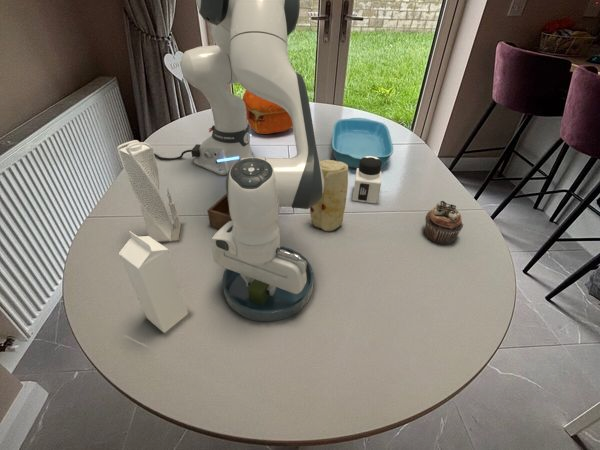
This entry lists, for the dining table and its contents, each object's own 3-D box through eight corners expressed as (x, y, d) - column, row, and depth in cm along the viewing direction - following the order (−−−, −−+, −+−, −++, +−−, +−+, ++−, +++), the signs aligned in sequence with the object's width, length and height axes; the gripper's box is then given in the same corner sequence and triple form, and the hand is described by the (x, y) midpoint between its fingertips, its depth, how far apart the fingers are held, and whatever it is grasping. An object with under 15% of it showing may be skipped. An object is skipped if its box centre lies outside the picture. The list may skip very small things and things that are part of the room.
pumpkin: (307, 126, 150) (308, 80, 138) (278, 144, 135) (277, 94, 123) (266, 116, 160) (264, 71, 147) (235, 131, 145) (229, 83, 132)
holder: (210, 226, 93) (207, 210, 90) (234, 203, 102) (232, 187, 99) (248, 239, 89) (247, 222, 86) (271, 213, 98) (270, 198, 95)
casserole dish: (393, 177, 116) (397, 159, 112) (329, 173, 118) (330, 154, 114) (383, 134, 145) (386, 118, 141) (332, 131, 147) (334, 115, 142)
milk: (171, 301, 73) (144, 221, 59) (189, 315, 70) (165, 234, 56) (146, 319, 69) (111, 239, 55) (164, 335, 66) (132, 254, 53)
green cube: (249, 300, 73) (247, 288, 70) (259, 284, 76) (258, 272, 74) (263, 305, 72) (262, 293, 69) (273, 290, 75) (272, 277, 73)
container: (376, 204, 104) (384, 167, 95) (352, 200, 105) (357, 163, 97) (377, 191, 110) (384, 155, 101) (353, 188, 111) (359, 152, 102)
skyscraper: (177, 244, 87) (149, 145, 70) (145, 247, 86) (108, 147, 68) (181, 224, 94) (156, 129, 76) (151, 227, 92) (118, 131, 75)
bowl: (206, 302, 73) (203, 292, 70) (253, 246, 87) (252, 236, 85) (289, 337, 66) (289, 327, 64) (325, 270, 81) (326, 260, 79)
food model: (341, 218, 97) (348, 156, 85) (344, 233, 92) (353, 169, 80) (308, 218, 97) (310, 156, 85) (309, 233, 92) (312, 169, 79)
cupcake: (457, 249, 88) (470, 219, 81) (419, 241, 90) (429, 211, 84) (457, 228, 95) (469, 199, 89) (422, 220, 97) (431, 192, 91)
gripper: (313, 247, 63) (310, 294, 72) (222, 219, 69) (230, 265, 78) (299, 269, 59) (298, 317, 67) (204, 236, 65) (214, 284, 74)
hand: (260, 289), depth 73 cm, fingers closed on green cube, 3 cm apart
